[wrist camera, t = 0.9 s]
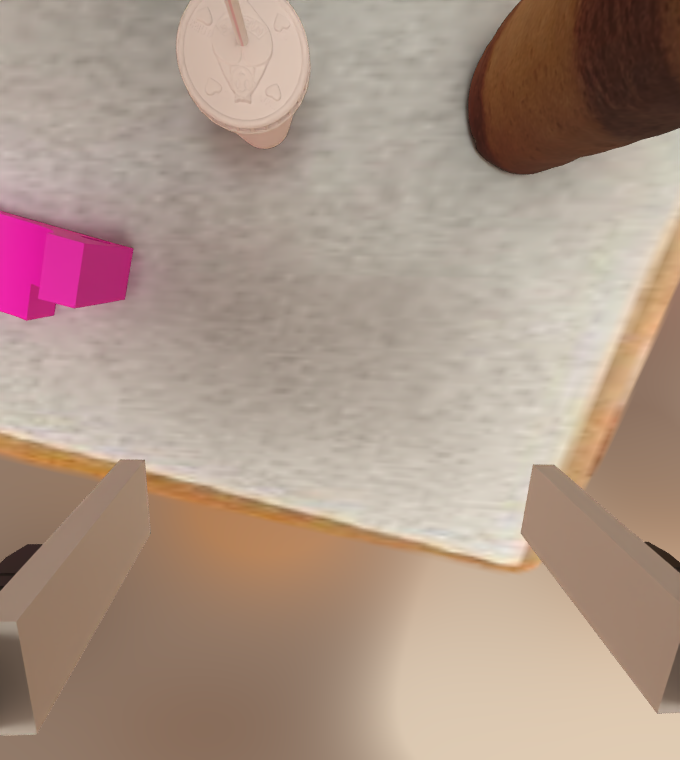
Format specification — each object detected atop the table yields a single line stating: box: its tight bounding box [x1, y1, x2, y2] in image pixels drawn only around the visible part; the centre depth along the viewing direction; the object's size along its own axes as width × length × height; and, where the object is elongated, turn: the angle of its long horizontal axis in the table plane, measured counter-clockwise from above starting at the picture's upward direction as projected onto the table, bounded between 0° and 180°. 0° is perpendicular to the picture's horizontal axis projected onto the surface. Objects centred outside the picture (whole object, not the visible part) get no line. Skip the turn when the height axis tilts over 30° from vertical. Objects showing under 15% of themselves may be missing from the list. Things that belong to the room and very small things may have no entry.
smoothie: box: [176, 0, 311, 149], centre depth 24 cm, size 6×6×14 cm
